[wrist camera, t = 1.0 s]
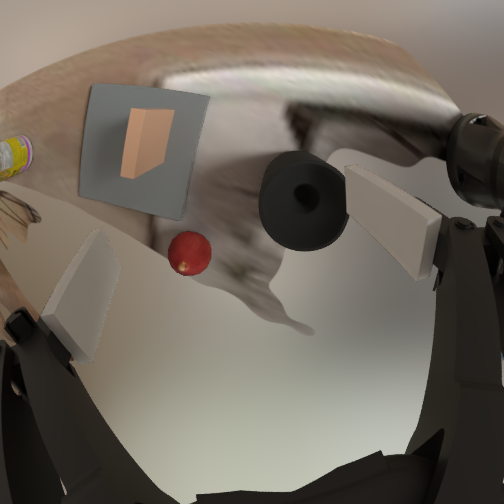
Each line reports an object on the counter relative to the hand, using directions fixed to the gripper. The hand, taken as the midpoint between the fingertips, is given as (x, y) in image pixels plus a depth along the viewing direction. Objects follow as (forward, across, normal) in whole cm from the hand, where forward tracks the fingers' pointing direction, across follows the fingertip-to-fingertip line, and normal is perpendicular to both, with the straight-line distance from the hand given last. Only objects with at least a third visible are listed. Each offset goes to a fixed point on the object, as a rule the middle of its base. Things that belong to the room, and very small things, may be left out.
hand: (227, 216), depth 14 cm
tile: (+23, +6, -3) cm, 24 cm away
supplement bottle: (+30, +33, -10) cm, 45 cm away
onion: (+23, +6, +13) cm, 27 cm away
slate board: (+25, +10, -2) cm, 27 cm away
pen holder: (+20, -9, +7) cm, 23 cm away
